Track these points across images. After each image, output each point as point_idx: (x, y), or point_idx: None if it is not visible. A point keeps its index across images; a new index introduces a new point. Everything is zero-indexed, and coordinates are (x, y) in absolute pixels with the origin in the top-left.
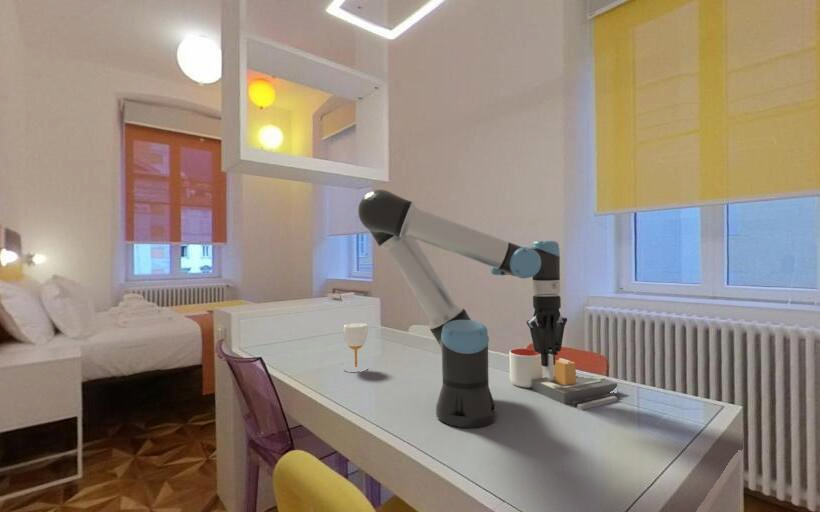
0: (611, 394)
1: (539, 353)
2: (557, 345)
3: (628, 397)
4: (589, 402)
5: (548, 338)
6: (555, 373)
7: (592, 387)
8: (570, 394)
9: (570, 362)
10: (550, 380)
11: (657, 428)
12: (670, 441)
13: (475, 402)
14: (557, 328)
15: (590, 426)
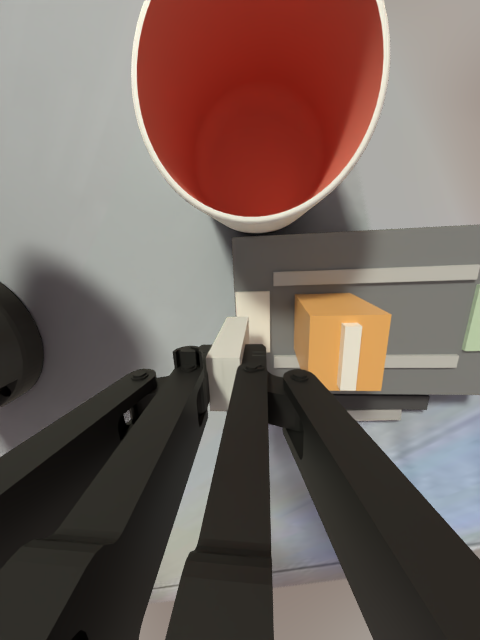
0: (402, 405)
1: (369, 112)
2: (291, 448)
3: (451, 408)
4: None
5: (172, 522)
6: (299, 310)
7: (365, 391)
8: None
9: (363, 376)
10: (285, 285)
11: (320, 525)
12: (289, 553)
13: None
14: (401, 634)
15: (208, 475)
